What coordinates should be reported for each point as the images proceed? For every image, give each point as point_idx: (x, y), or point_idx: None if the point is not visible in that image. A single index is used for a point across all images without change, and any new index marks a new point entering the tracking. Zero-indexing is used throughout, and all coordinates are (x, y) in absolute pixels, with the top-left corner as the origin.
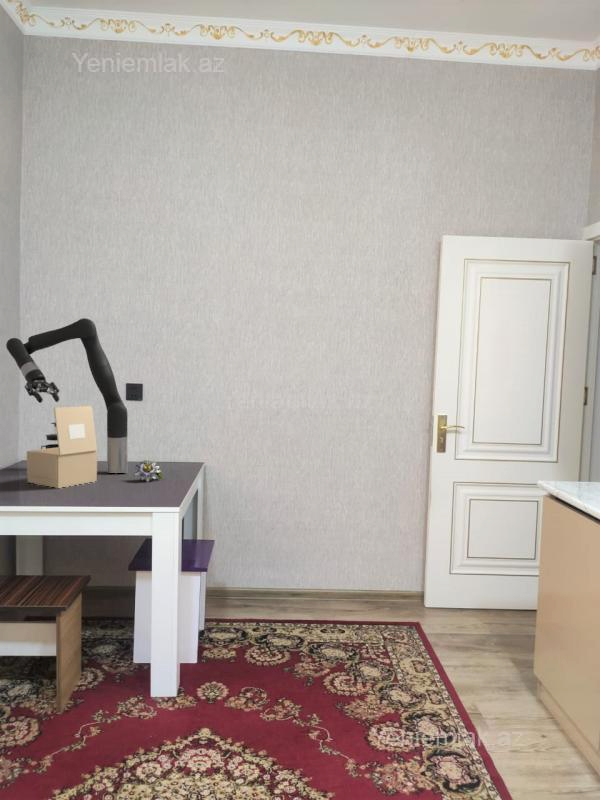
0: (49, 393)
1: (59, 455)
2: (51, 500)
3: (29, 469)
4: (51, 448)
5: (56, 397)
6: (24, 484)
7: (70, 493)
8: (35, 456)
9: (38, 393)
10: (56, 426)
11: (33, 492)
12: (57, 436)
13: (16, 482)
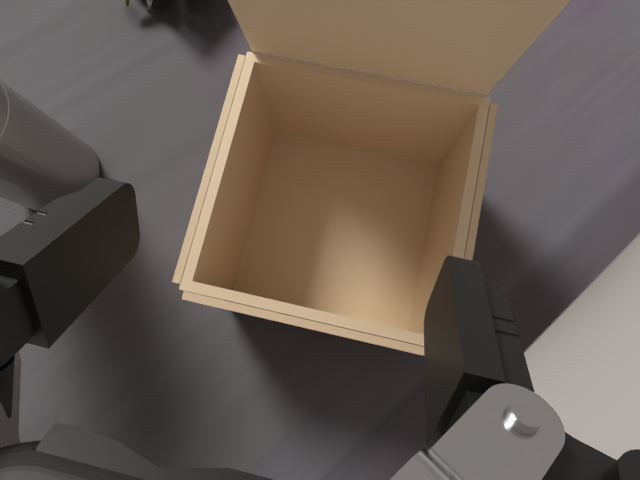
0: (13, 425)
1: (482, 97)
2: (611, 56)
3: None
4: (287, 309)
5: (103, 220)
6: None
7: None
8: None
9: (487, 375)
10: (558, 9)
11: (540, 196)
12: (525, 48)
13: (411, 407)
